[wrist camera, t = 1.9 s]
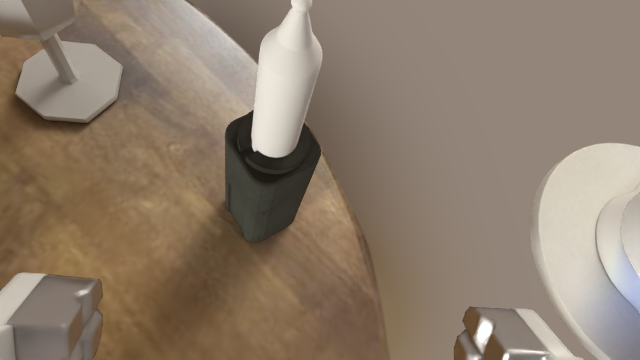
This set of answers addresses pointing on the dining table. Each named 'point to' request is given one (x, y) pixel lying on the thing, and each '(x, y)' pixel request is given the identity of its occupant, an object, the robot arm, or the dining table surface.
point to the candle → (275, 131)
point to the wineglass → (59, 62)
